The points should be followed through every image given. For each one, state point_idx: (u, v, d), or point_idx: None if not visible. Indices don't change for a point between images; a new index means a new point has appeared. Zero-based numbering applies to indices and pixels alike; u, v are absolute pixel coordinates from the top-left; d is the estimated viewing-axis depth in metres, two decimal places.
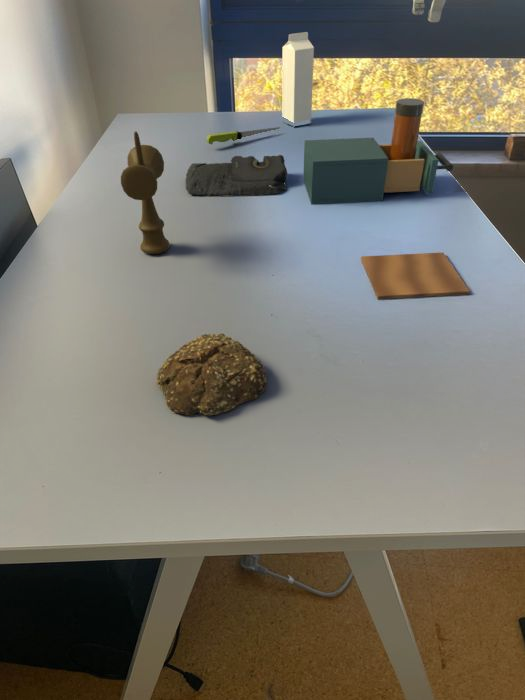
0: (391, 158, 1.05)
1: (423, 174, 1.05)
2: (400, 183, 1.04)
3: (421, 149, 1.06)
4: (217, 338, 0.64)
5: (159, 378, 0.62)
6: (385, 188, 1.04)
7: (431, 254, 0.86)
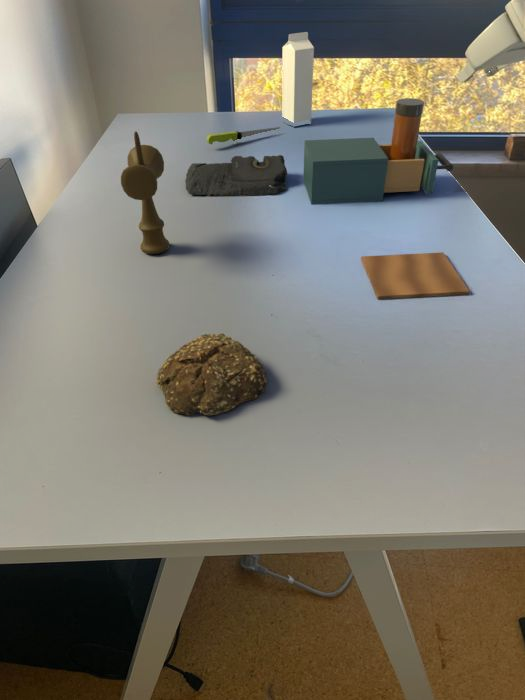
0: (391, 158, 1.05)
1: (423, 174, 1.05)
2: (400, 183, 1.04)
3: (421, 149, 1.06)
4: (217, 338, 0.64)
5: (159, 378, 0.62)
6: (385, 188, 1.04)
7: (431, 254, 0.86)
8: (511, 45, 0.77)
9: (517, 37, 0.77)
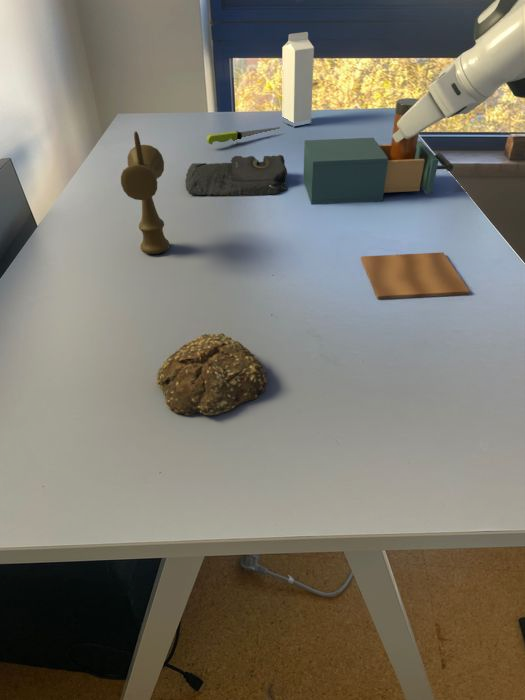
0: (391, 158, 1.05)
1: (424, 174, 1.05)
2: (400, 183, 1.04)
3: (421, 149, 1.06)
4: (217, 338, 0.64)
5: (159, 378, 0.62)
6: (385, 188, 1.04)
7: (431, 254, 0.86)
8: (436, 120, 0.89)
9: (440, 113, 0.89)
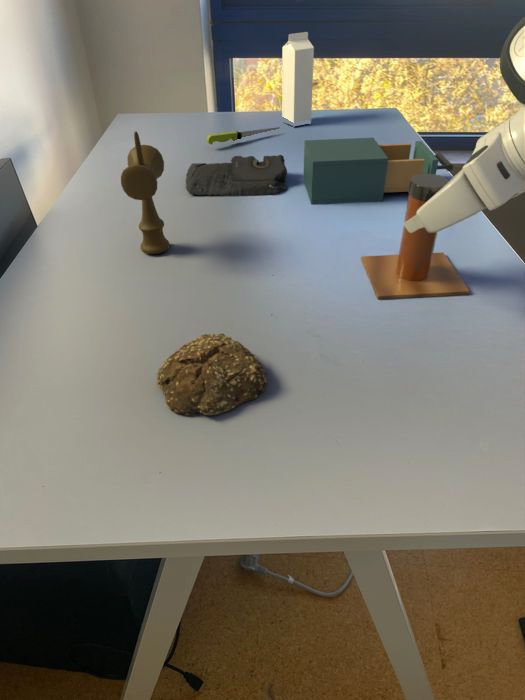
0: (402, 250, 0.78)
1: None
2: (400, 183, 1.04)
3: (421, 149, 1.06)
4: (217, 338, 0.64)
5: (159, 378, 0.62)
6: (385, 188, 1.04)
7: None
8: (474, 213, 0.62)
9: (480, 204, 0.62)
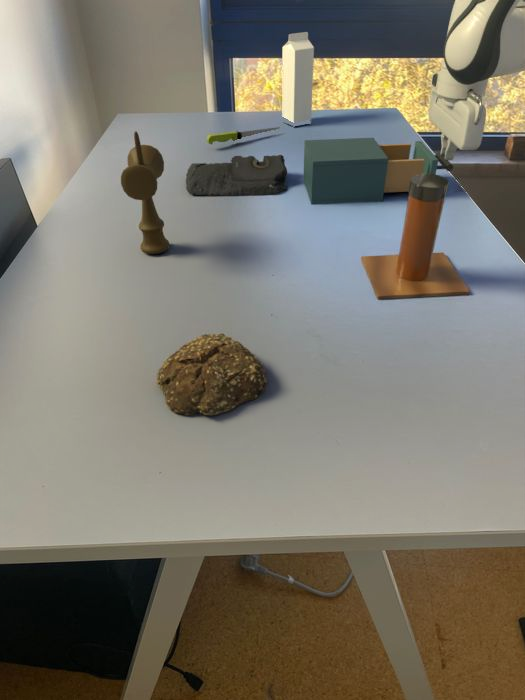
0: (402, 250, 0.78)
1: None
2: (400, 183, 1.04)
3: (421, 149, 1.06)
4: (217, 338, 0.64)
5: (159, 378, 0.62)
6: (385, 188, 1.04)
7: None
8: (432, 89, 1.06)
9: None
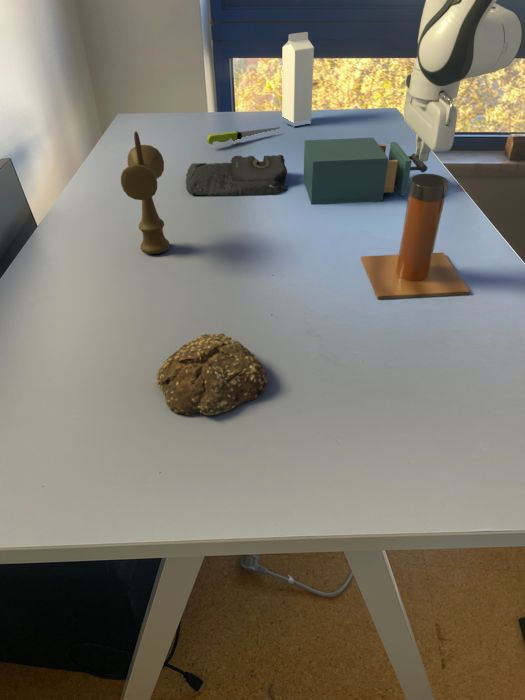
0: (402, 250, 0.78)
1: (398, 175, 1.05)
2: None
3: (395, 150, 1.06)
4: (217, 338, 0.64)
5: (159, 378, 0.62)
6: None
7: None
8: (406, 90, 1.06)
9: None
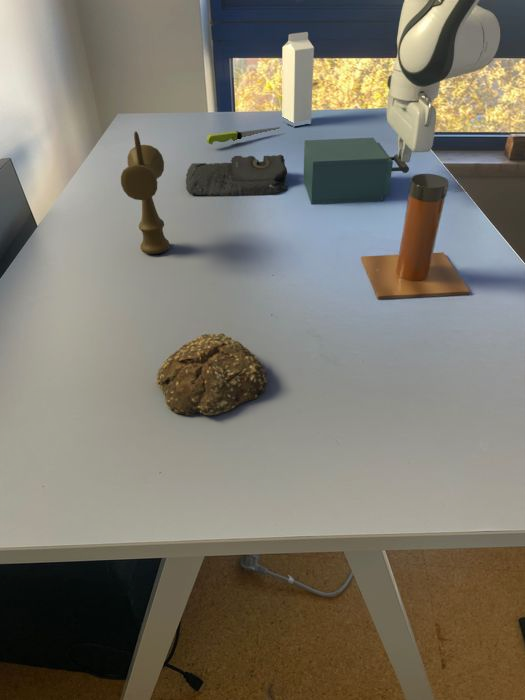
0: (402, 250, 0.78)
1: None
2: None
3: None
4: (217, 338, 0.64)
5: (159, 378, 0.62)
6: None
7: None
8: (388, 91, 1.06)
9: None
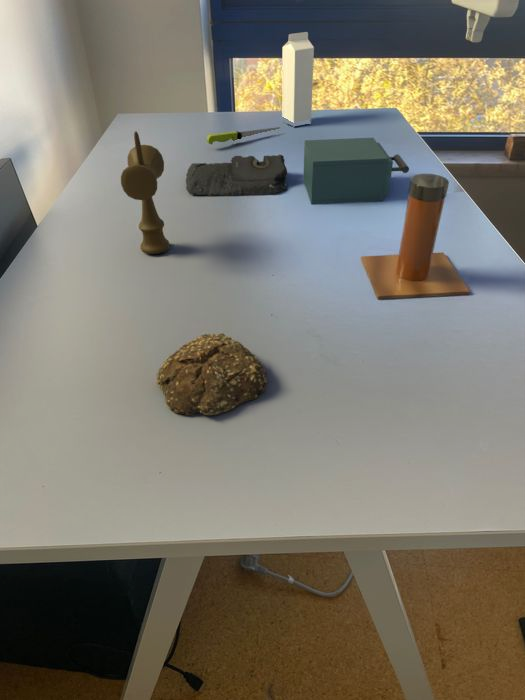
0: (402, 250, 0.78)
1: None
2: None
3: None
4: (217, 338, 0.64)
5: (159, 378, 0.62)
6: None
7: None
8: None
9: None
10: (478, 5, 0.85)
